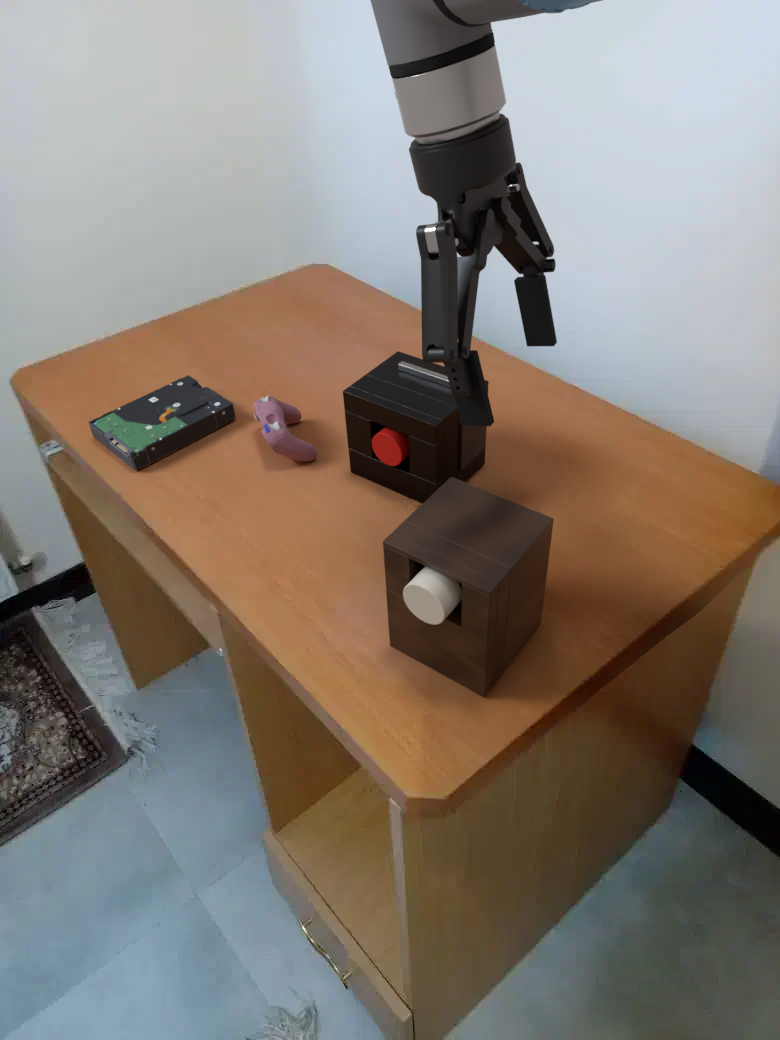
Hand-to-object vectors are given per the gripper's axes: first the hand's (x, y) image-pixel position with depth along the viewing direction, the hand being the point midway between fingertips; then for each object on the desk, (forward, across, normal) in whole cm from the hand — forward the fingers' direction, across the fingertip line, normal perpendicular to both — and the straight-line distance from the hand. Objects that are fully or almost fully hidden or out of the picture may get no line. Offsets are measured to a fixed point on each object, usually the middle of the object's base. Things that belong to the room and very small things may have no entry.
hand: (511, 382), depth 70 cm
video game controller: (+11, -2, -34) cm, 35 cm away
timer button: (+10, +19, 0) cm, 22 cm away
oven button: (+11, -1, -17) cm, 20 cm away
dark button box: (+15, -6, -18) cm, 24 cm away
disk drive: (+7, +2, -49) cm, 49 cm away
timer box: (+18, +14, -2) cm, 23 cm away
